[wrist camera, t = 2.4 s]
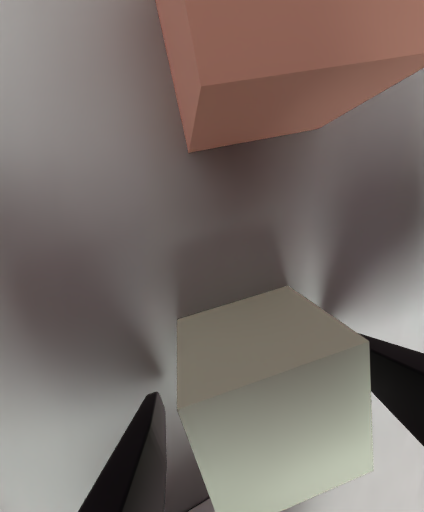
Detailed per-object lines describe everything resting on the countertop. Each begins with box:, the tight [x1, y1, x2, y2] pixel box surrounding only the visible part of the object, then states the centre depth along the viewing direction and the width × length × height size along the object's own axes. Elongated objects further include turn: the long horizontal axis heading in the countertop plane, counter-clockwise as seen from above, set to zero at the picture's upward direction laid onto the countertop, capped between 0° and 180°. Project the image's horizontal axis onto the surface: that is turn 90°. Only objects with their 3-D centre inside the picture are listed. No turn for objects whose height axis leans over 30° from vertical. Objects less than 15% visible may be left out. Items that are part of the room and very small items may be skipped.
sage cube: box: [177, 286, 373, 512], centre depth 7 cm, size 5×5×4 cm
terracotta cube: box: [155, 0, 424, 153], centre depth 5 cm, size 5×5×4 cm
